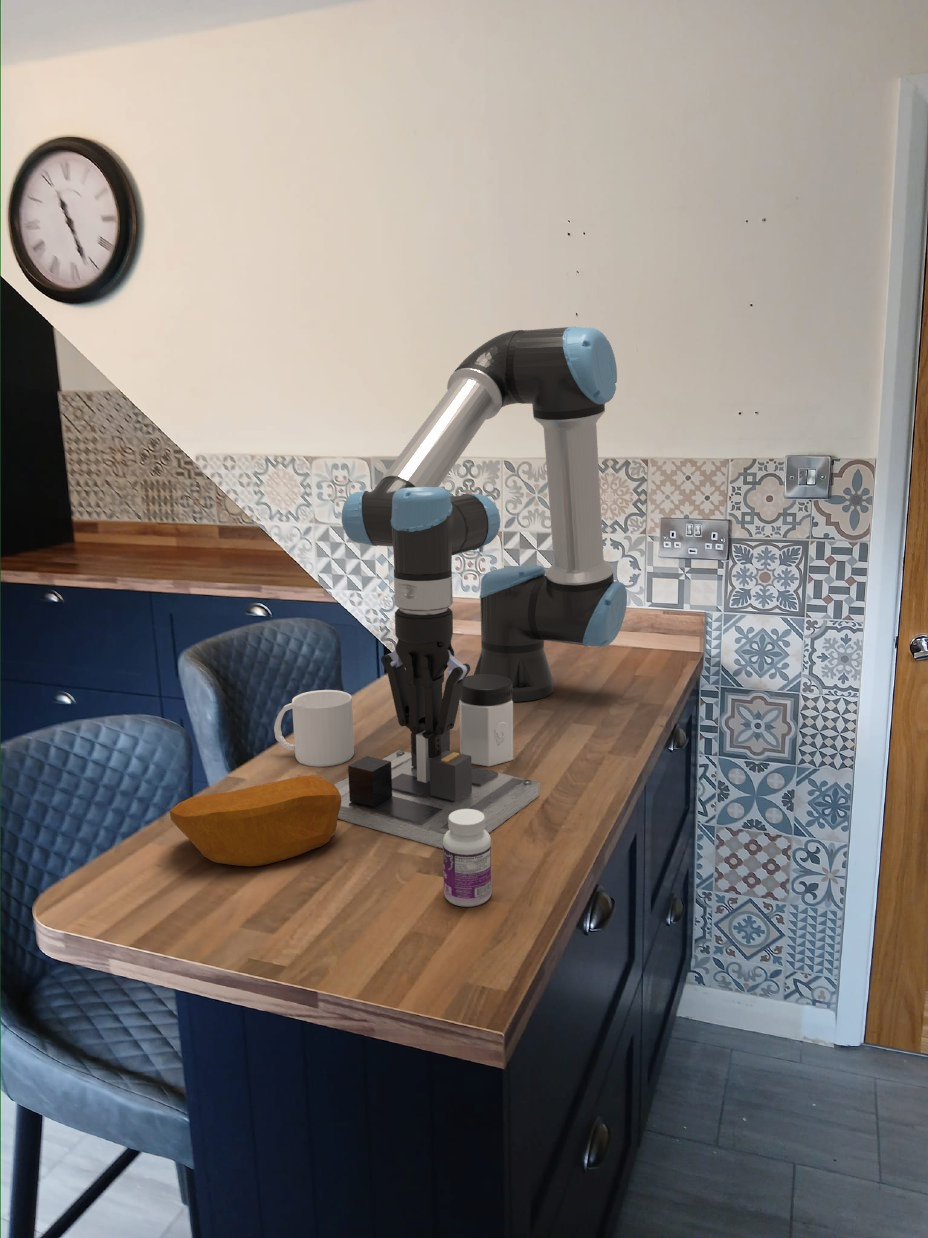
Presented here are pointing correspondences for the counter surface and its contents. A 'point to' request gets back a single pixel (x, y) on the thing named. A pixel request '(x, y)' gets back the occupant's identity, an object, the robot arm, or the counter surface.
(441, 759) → the handle
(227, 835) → the bread
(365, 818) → the panel
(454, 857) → the pill bottle
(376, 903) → the counter surface
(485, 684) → the jar
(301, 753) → the mug
